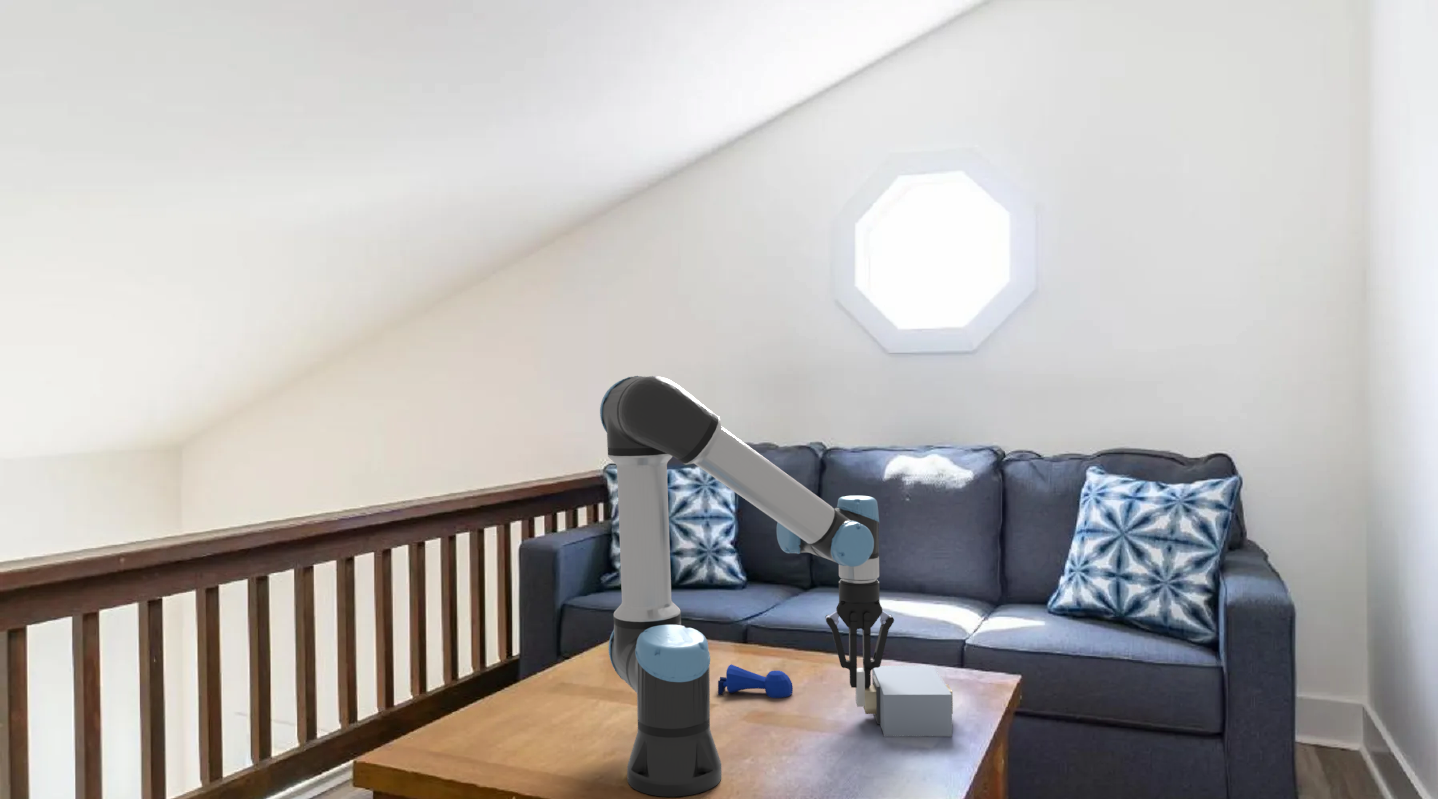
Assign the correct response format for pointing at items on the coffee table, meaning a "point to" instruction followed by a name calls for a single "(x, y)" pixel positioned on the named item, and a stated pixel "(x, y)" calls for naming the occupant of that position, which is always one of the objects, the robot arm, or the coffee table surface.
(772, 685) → the toy
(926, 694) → the sleeve block
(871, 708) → the peg
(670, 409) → the robot arm
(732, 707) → the coffee table surface
